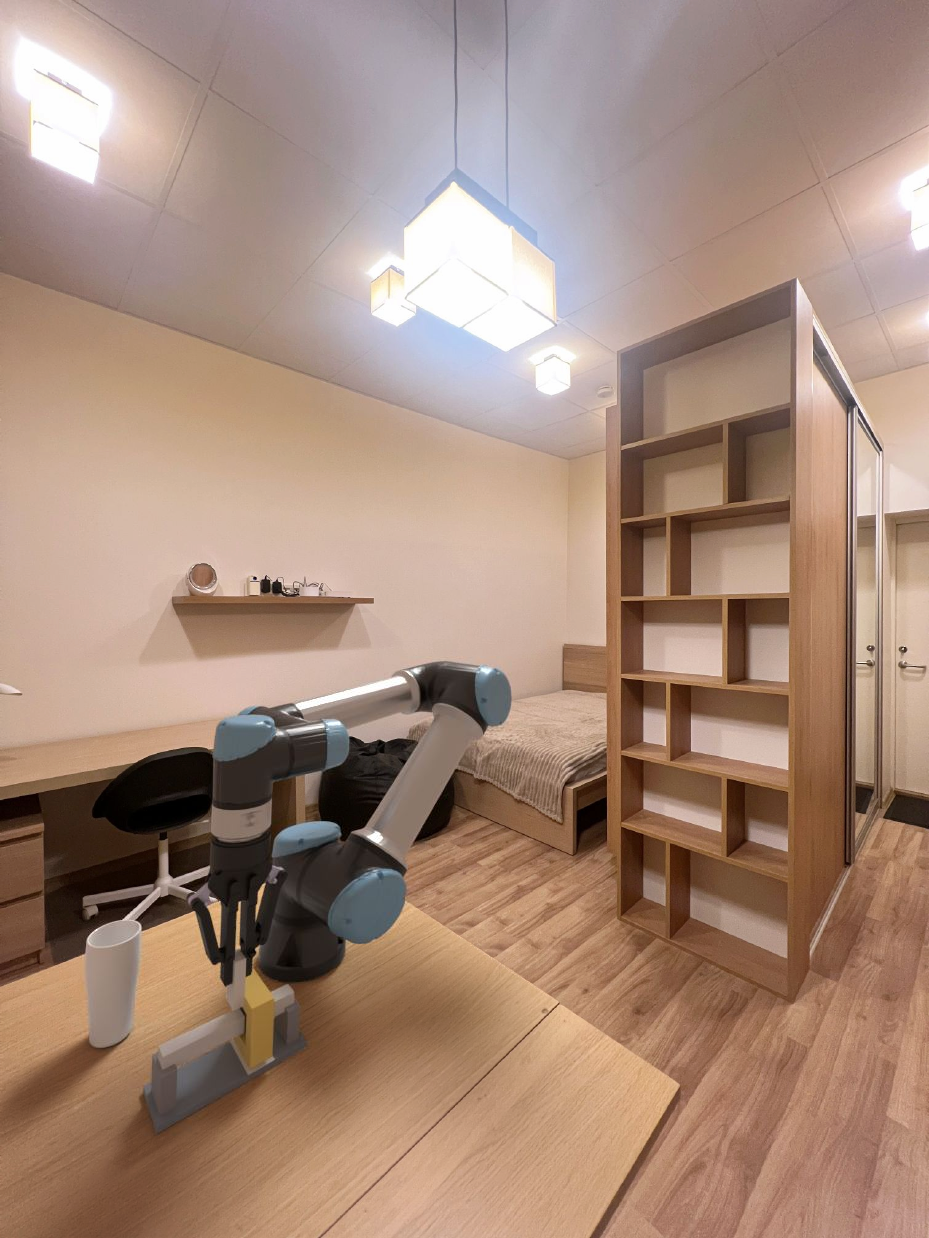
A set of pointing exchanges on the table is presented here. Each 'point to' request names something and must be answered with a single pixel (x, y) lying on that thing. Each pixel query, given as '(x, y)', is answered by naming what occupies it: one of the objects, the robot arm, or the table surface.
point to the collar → (257, 1022)
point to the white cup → (112, 980)
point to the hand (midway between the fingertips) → (235, 1002)
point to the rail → (215, 1061)
